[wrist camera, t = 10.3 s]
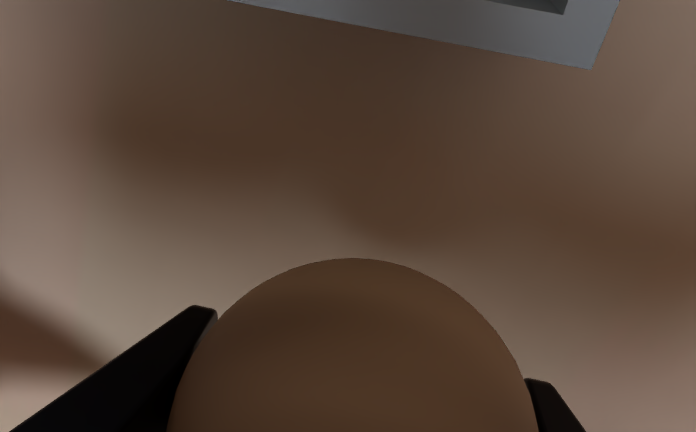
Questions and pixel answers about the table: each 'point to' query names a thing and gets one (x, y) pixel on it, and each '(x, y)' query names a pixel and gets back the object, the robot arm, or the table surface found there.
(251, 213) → the table surface
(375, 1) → the bin
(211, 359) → the walnut ball
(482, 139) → the table surface
